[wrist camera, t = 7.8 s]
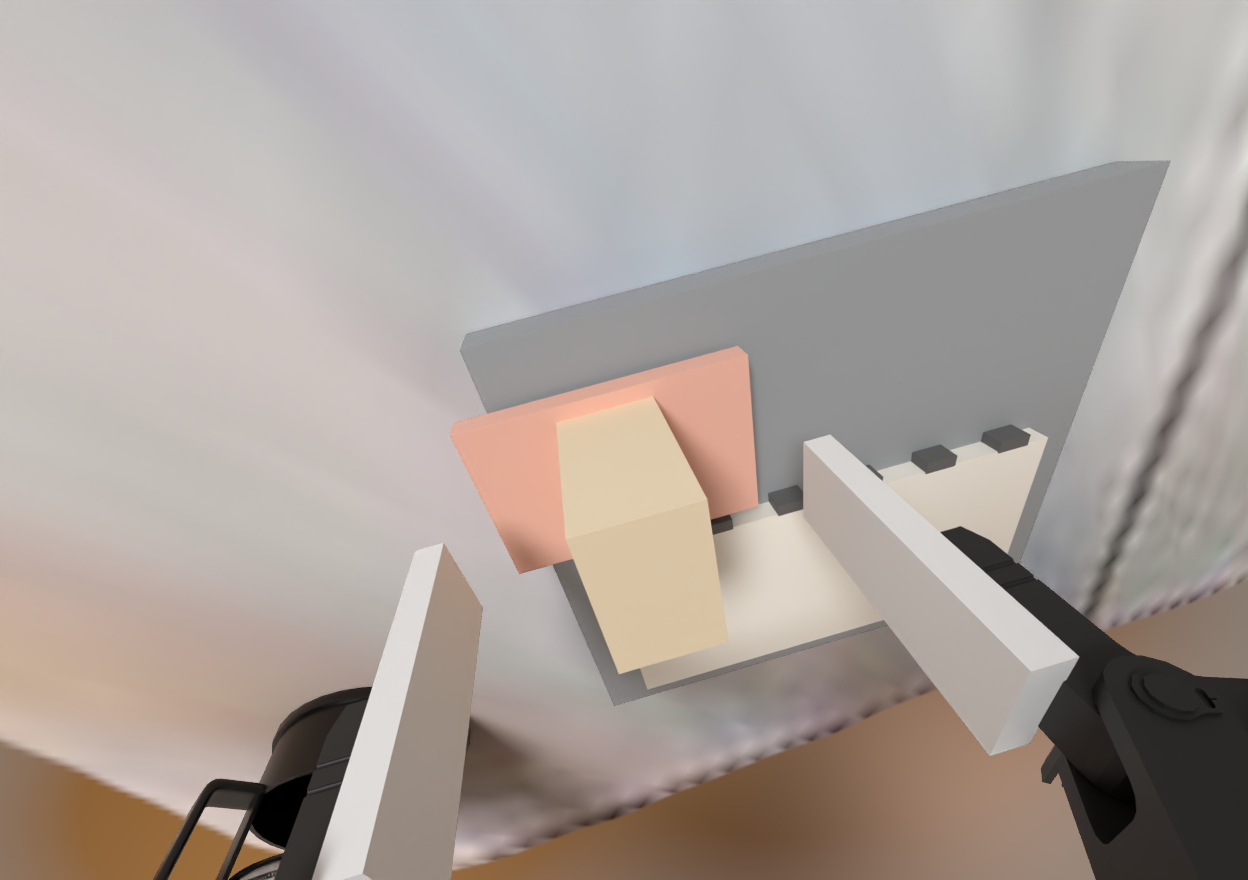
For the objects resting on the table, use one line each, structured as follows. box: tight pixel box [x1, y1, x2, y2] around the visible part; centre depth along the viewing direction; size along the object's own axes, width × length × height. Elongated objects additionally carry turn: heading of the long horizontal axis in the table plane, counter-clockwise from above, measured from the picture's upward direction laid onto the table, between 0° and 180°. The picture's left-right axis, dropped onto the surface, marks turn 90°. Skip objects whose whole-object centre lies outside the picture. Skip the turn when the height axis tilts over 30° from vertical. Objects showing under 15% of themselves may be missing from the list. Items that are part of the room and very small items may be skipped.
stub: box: [450, 346, 759, 674], centre depth 13 cm, size 9×6×6 cm, turn 102°
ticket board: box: [460, 161, 1170, 706], centre depth 19 cm, size 22×20×2 cm
